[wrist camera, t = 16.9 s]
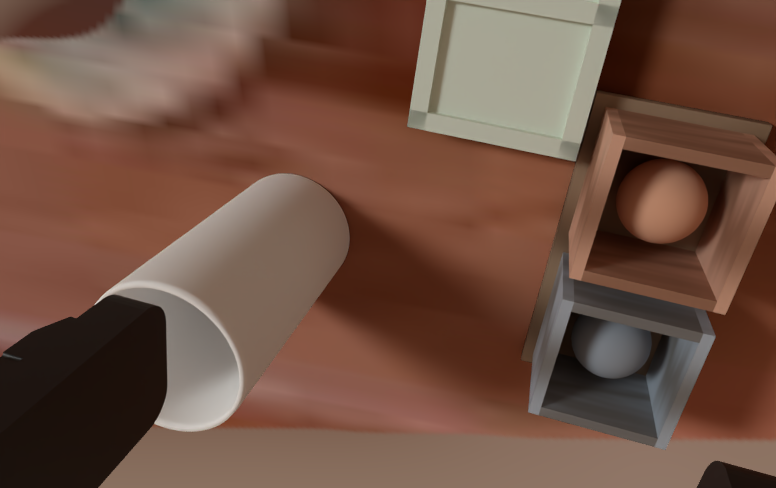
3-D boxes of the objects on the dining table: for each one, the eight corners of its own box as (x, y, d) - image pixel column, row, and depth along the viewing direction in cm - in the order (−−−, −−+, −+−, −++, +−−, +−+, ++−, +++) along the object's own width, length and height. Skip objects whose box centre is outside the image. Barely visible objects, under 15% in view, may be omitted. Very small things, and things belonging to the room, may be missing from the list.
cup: (365, 202, 41) (261, 329, 27) (331, 301, 45) (225, 457, 31) (251, 154, 42) (93, 254, 28) (227, 256, 46) (78, 389, 32)
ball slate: (582, 281, 39) (583, 316, 35) (657, 299, 38) (667, 338, 34) (563, 341, 41) (562, 381, 37) (634, 360, 40) (641, 403, 36)
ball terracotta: (626, 141, 35) (634, 164, 31) (711, 158, 34) (730, 184, 30) (603, 215, 37) (608, 245, 33) (683, 233, 36) (698, 266, 32)
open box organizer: (596, 89, 35) (602, 117, 29) (768, 122, 34) (812, 158, 28) (521, 353, 43) (514, 417, 37) (657, 388, 42) (673, 461, 36)
